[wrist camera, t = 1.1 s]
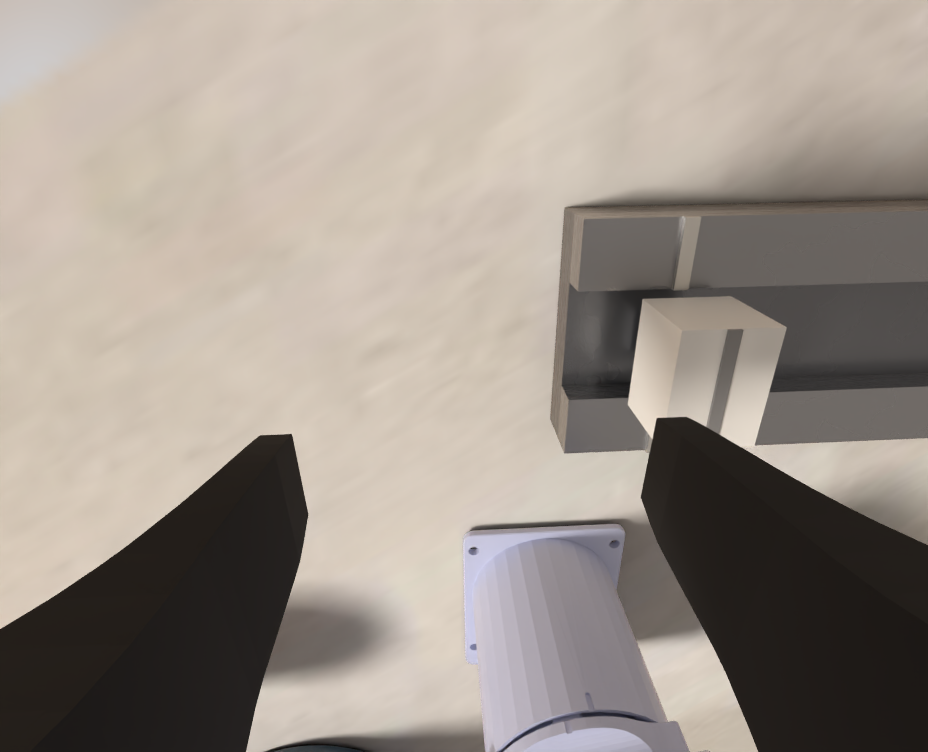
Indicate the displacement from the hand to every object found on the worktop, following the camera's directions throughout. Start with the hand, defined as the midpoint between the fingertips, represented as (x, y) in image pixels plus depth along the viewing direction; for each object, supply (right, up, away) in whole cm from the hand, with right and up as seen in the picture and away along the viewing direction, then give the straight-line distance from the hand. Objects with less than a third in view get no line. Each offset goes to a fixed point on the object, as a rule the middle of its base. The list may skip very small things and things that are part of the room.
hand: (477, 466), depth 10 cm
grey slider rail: (+15, +4, +11) cm, 19 cm away
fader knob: (+7, +3, +9) cm, 12 cm away
